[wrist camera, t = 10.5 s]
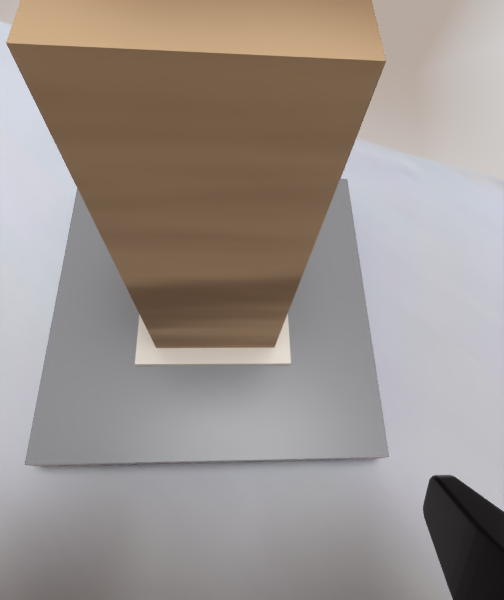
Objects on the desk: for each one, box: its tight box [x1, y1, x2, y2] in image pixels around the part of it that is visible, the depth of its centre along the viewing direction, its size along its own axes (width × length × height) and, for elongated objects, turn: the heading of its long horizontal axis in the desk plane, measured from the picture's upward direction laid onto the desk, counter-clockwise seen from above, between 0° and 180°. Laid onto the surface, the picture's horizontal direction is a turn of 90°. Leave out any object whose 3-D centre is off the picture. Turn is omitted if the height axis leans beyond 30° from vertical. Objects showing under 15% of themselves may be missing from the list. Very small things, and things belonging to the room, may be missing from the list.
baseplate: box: [25, 179, 389, 466], centre depth 19 cm, size 14×14×2 cm
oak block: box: [6, 0, 386, 348], centre depth 12 cm, size 5×5×13 cm
